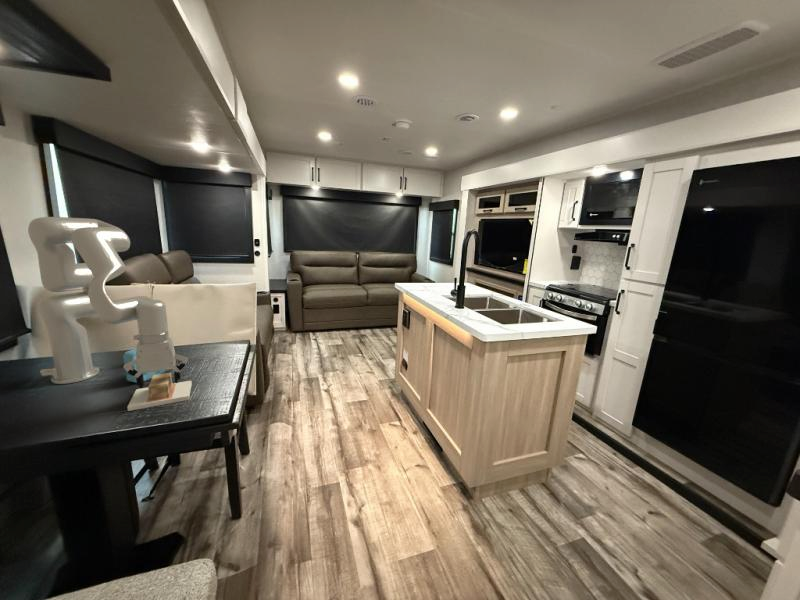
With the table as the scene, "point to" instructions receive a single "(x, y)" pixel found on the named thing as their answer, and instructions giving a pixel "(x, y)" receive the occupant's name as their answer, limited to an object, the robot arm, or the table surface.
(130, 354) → the data package
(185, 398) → the plate
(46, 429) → the table surface
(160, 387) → the tan cardboard box
